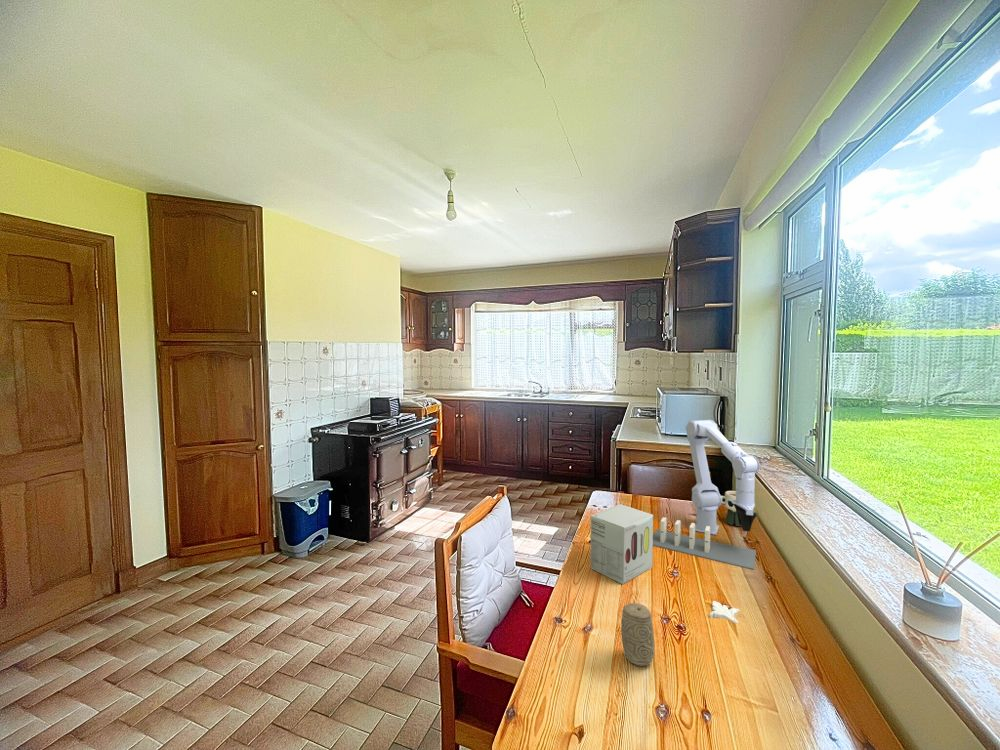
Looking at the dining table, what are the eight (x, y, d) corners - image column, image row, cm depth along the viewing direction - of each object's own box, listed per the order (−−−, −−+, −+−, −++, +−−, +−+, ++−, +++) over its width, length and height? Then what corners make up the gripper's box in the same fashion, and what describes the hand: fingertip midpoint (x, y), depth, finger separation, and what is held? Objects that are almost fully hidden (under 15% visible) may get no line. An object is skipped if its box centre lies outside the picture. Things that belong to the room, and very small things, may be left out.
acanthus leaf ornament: (709, 619, 111) (709, 612, 111) (708, 605, 117) (708, 599, 117) (741, 627, 108) (741, 619, 108) (739, 612, 114) (739, 605, 114)
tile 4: (706, 547, 150) (706, 525, 150) (710, 548, 150) (710, 526, 149) (704, 552, 147) (704, 530, 146) (708, 553, 146) (708, 531, 146)
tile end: (742, 531, 149) (743, 510, 149) (746, 532, 148) (747, 510, 148) (741, 536, 145) (742, 514, 145) (745, 537, 144) (746, 514, 144)
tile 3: (691, 543, 153) (691, 522, 153) (695, 544, 152) (695, 523, 152) (689, 548, 149) (689, 527, 149) (692, 549, 149) (693, 527, 148)
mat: (656, 530, 167) (656, 529, 167) (755, 551, 148) (756, 550, 148) (647, 544, 154) (647, 543, 154) (753, 569, 135) (753, 568, 135)
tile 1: (663, 537, 159) (663, 517, 158) (666, 538, 158) (666, 517, 158) (660, 542, 155) (660, 521, 155) (663, 542, 154) (663, 521, 154)
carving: (627, 644, 101) (627, 596, 100) (658, 658, 96) (658, 608, 96) (616, 659, 96) (616, 609, 95) (648, 675, 91) (649, 622, 91)
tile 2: (677, 540, 156) (677, 519, 156) (680, 541, 155) (680, 520, 155) (674, 545, 152) (674, 524, 152) (678, 546, 151) (678, 524, 151)
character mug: (719, 524, 171) (719, 493, 170) (719, 518, 177) (720, 489, 177) (749, 530, 166) (750, 498, 165) (749, 523, 172) (750, 493, 171)
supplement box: (624, 586, 127) (624, 528, 126) (589, 569, 137) (589, 515, 136) (654, 567, 138) (654, 513, 137) (619, 552, 148) (620, 503, 147)
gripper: (728, 483, 154) (727, 518, 155) (736, 495, 140) (736, 534, 141) (749, 484, 152) (749, 521, 152) (760, 497, 138) (759, 537, 139)
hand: (744, 527), depth 147 cm, fingers closed on tile end, 5 cm apart
